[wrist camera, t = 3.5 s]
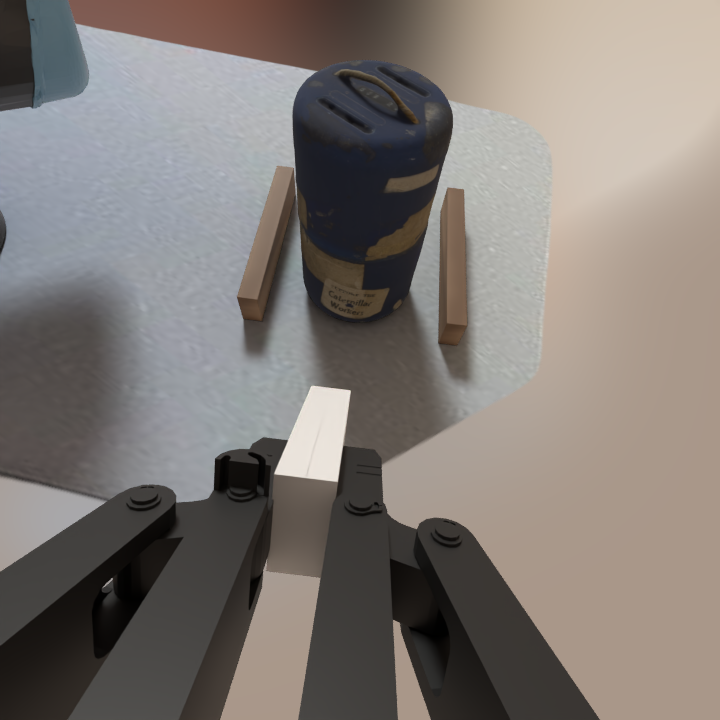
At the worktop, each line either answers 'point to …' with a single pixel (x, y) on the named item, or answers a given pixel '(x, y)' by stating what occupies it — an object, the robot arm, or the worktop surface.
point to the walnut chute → (272, 236)
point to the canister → (366, 182)
